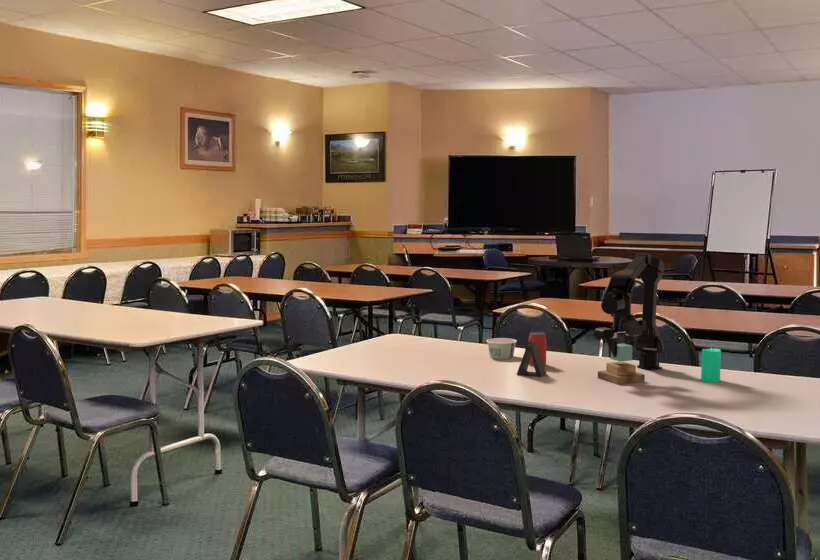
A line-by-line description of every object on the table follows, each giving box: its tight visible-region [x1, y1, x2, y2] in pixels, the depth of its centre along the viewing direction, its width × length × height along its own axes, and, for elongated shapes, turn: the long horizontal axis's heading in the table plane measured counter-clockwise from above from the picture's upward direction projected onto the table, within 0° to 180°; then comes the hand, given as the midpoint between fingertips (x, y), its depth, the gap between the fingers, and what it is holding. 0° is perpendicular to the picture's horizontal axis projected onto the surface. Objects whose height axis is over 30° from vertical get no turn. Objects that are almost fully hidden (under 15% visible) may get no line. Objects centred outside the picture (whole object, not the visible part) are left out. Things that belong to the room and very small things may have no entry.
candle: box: [700, 345, 722, 383], centre depth 265 cm, size 6×6×12 cm
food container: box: [485, 337, 518, 360], centre depth 311 cm, size 12×12×6 cm
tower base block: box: [597, 370, 646, 386], centre depth 268 cm, size 11×11×3 cm
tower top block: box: [605, 361, 637, 375], centre depth 267 cm, size 7×7×3 cm
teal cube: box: [610, 343, 633, 362], centre depth 267 cm, size 5×5×5 cm
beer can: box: [528, 331, 547, 367], centre depth 294 cm, size 7×7×12 cm
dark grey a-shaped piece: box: [516, 340, 547, 378], centre depth 277 cm, size 9×6×12 cm, turn 63°
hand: (621, 356), depth 267 cm, fingers closed on teal cube, 5 cm apart
